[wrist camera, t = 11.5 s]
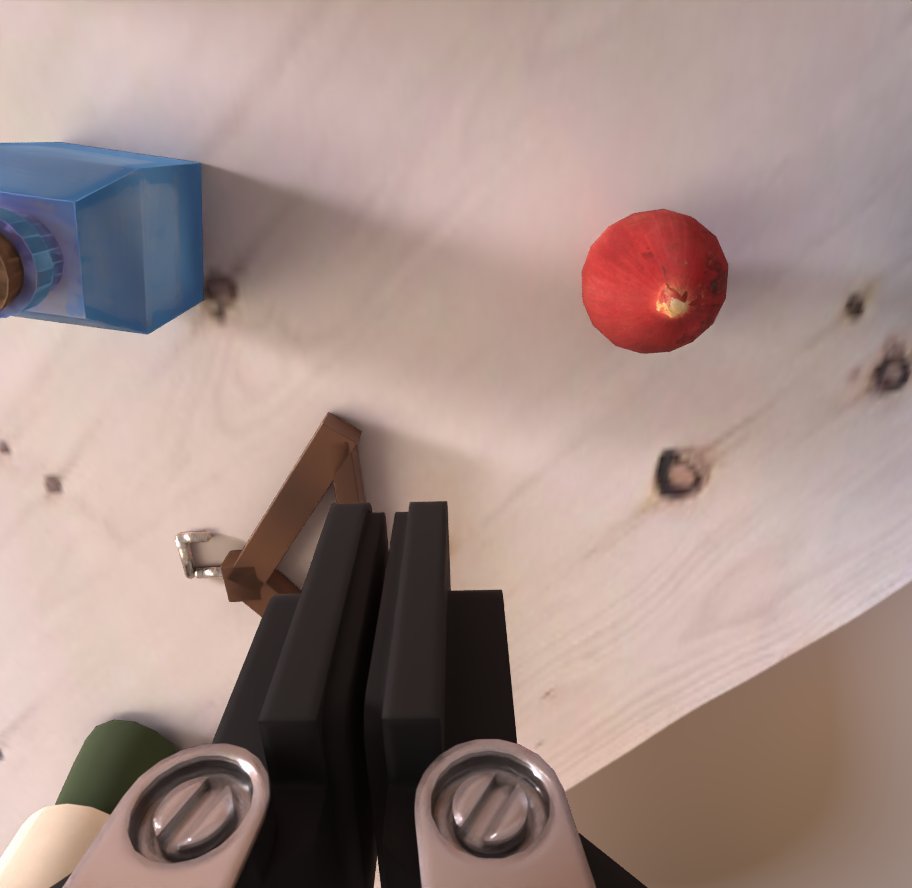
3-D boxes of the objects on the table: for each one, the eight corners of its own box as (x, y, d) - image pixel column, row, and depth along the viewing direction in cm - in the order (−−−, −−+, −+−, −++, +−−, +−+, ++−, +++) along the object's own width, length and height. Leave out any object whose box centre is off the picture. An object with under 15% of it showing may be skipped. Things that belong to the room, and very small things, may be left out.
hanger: (222, 692, 43) (213, 711, 42) (146, 422, 35) (132, 435, 34) (397, 684, 42) (394, 704, 41) (358, 410, 35) (353, 421, 33)
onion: (699, 195, 30) (772, 214, 23) (693, 322, 33) (758, 375, 25) (569, 209, 31) (599, 231, 23) (572, 333, 33) (601, 389, 26)
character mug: (105, 803, 48) (-17, 1024, 36) (39, 735, 45) (-116, 949, 33) (236, 758, 45) (153, 978, 34) (174, 684, 43) (61, 893, 31)
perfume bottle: (200, 162, 30) (47, 177, 19) (203, 300, 33) (70, 382, 22) (59, 142, 30) (-177, 144, 19) (73, 282, 32) (-128, 356, 22)
